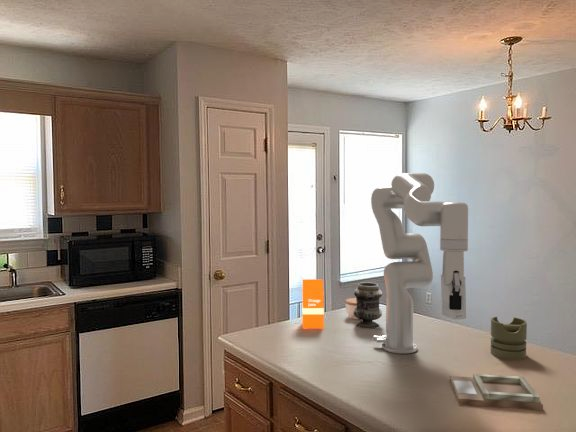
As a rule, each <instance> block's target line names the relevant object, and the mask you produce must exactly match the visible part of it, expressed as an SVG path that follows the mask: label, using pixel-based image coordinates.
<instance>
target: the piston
mask: <svg viewBox="0 0 576 432" xmlns="http://www.w3.org/2000/svg"><path fill="white" fill-rule="evenodd" d="M527 327H528V323H527V321H526V320H525V319H522V318H520V317H513V319H512V321H511V322H509V323H503V322H500V321H499V320H498V316H492V317H491V318H490V336H491V337H490V354H491V355H492V356H494V357H496V358H499V359H503V360H509V361H521V360H524V359H526V358H527V341H526V340H527V335H528V334H527V333H528V332H527V331H528V330H527V329H528V328H527Z"/></svg>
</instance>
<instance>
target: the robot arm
mask: <svg viewBox="0 0 576 432" xmlns="http://www.w3.org/2000/svg"><path fill="white" fill-rule="evenodd" d="M434 189H435V181H434V180H433V177H432V176H431V175H429V174H428V173H425V172H402V173H399V174H396V175H395V176H394V177H393V178H392V180H391V185H384V186H379V187H377V188H375V189H373V191H372V193H371V198H370V202H371V203H370V204H371V209H372V213H373V215H374V217H375V220H376V222H377V224H378V228H379V234H380V240H381V245H382V250H383V254H384V255H385V257H386V258H387V259H389V260H405V261H394V262H390V263H388V264H387V265H385V267H384V269H383V279H384V287H385V295H386V296H385V297H386V299H385V304H386V305H385V306H386V307H385V308H386V313H385V316H386V318H385V319H386V320H385V322H386V324H385V326H386V328H385V333H384V335H383V334H382V336H381V335H373V342H376V343H378V344H379V343H381V348H382V349H383V350H384V351H386V352H388V353H392V354H401V355H402V354H412V353H415V352H417V351H418V345H417V344H416V343H414V300H413V297H412V296H411V294H410V293H409V291H408V289H414V288H425V287H426V288H427V287H429V286H431V284H432V282H433V279H434V275H433V273H434V272H433V268H432V262H431V258H430V254H429V248H428V244H427V242H426V239H425V237H424V236H423V235H421V234H419V233H415V232H413V233H412V232H411V233H410V232H408V233H407V232H405V231H404V228H403V223H402V220H401V219H400V217H399V216H398V215H397V214H396V213H395V212H394V211H393V210H394V209H396V210H397V209H403V212H404V214H405V216H406V218H408V220H409V221H411V222H412V223H413V224H414V225H416V226H418V227H439V228H440V229H439V231H440V232H439V235H440V237H439V242H440V243H439V244H440V245H439V246H440V247H439V249H440V251H443V253H442V274H441V275H443V282H444V284H445V285H446V286H448V284H450V295H449V308H450V309H451V310H461V301H462V296H461V286H462V285H463V281H464V277H465V272H464V271H465V258H464V257H465V252H468V251H469V250H468V249H469V206H468V204H467V203H465V202H459V201H458V202H456V201H450V200H447V201H446V200H445V201H443V200H441V201H440V200H439V201H438V200H437V201H435V200H434V201H433V200H432V201H431V198H432V194H433V192H434ZM392 209H393V210H392ZM406 260H411V261H406ZM453 276H454V277H453ZM453 278H454V284H452V282H453ZM460 281H461V283H460Z"/></svg>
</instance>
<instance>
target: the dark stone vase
mask: <svg viewBox="0 0 576 432" xmlns="http://www.w3.org/2000/svg"><path fill="white" fill-rule="evenodd" d="M353 295H354V297H355V298H356V297H357V307H356V308H355V309H354V315H355V316H356V317H357V318H359V319H358V320H361V321H358V322H356V324H355V326H356V327H358V328H360V329H366V330H371V329H377V328H379V327H380V324H379V323H377V322H376V321H375V320H379V319H380V318H382V316H383V311H382V310H381V308H380V298H381V297H382V296H383V291H382V290H381V289H380V288H379V284H378V283H376V282H369V281H363V282H359V283H358V284H357V288H355V289H354V292H353Z"/></svg>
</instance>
